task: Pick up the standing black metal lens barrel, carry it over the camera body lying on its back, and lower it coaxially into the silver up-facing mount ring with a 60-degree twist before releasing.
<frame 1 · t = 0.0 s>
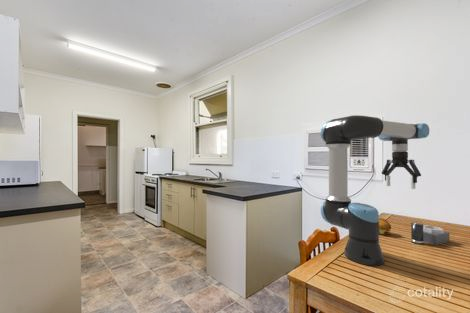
hand: (400, 187, 130), 28 cm above the table, fingers open, 13 cm apart
lens: (417, 242, 117), on the table
camera body: (432, 240, 120), on the table
orange brown stemmed fruit: (381, 233, 132), on the table
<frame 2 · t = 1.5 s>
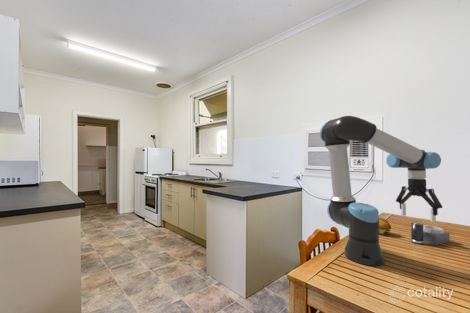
hand: (417, 218, 117), 13 cm above the table, fingers open, 13 cm apart
nothing on the table moved.
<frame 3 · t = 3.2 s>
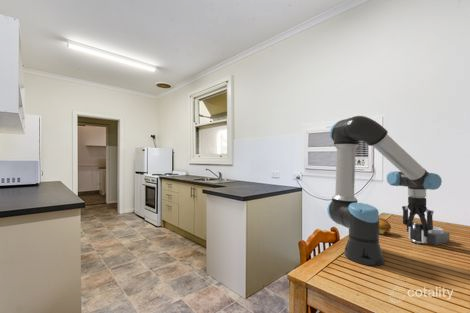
hand: (417, 240, 117), 1 cm above the table, fingers closed on lens, 5 cm apart
lens: (417, 242, 117), on the table, touching gripper
everything else where it was.
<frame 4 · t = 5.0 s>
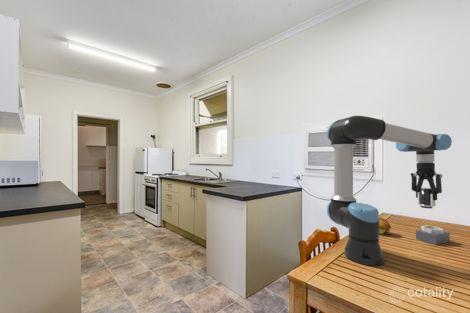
hand: (426, 205, 119), 20 cm above the table, fingers closed on lens, 5 cm apart
lens: (426, 207, 119), point 18 cm above the table, touching gripper
everything else where it was.
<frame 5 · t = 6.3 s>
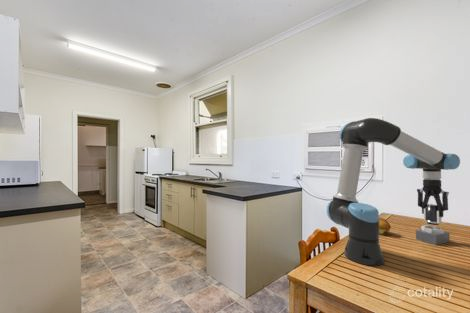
hand: (432, 221, 120), 10 cm above the table, fingers closed on lens, 5 cm apart
lens: (432, 223, 120), point 9 cm above the table, touching gripper
everything else where it was.
when the fingers open (7 cm above the table, at t = 7.3 s): lens stays where it is, resting on camera body.
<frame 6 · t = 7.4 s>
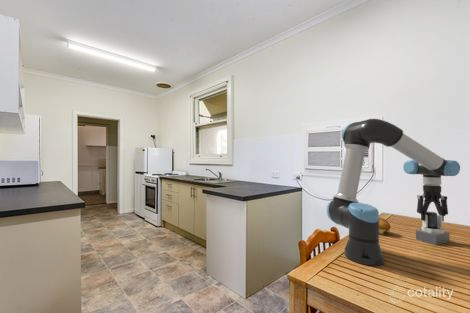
hand: (432, 226, 120), 8 cm above the table, fingers open, 7 cm apart
lens: (432, 231, 120), point 5 cm above the table, touching camera body
everything else where it was.
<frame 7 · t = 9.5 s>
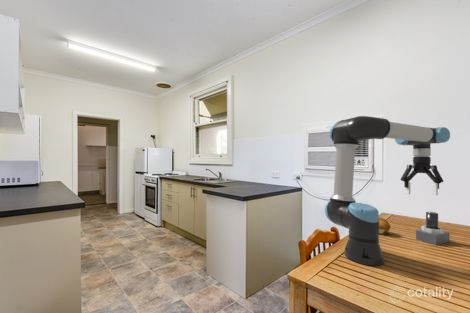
hand: (421, 194, 123), 25 cm above the table, fingers open, 13 cm apart
nothing on the table moved.
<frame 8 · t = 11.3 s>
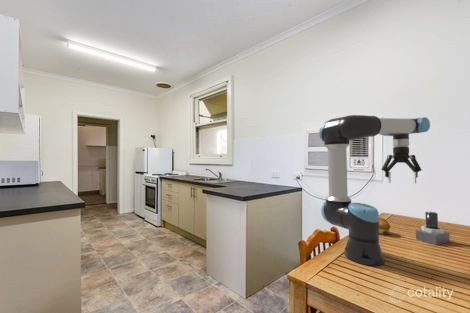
hand: (401, 183, 128), 31 cm above the table, fingers open, 13 cm apart
nothing on the table moved.
at the end: lens 0.2 cm off-centre on the camera body, point 5.1 cm above the camera body's base; lens tilted 2°; the gripper is holding nothing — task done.
